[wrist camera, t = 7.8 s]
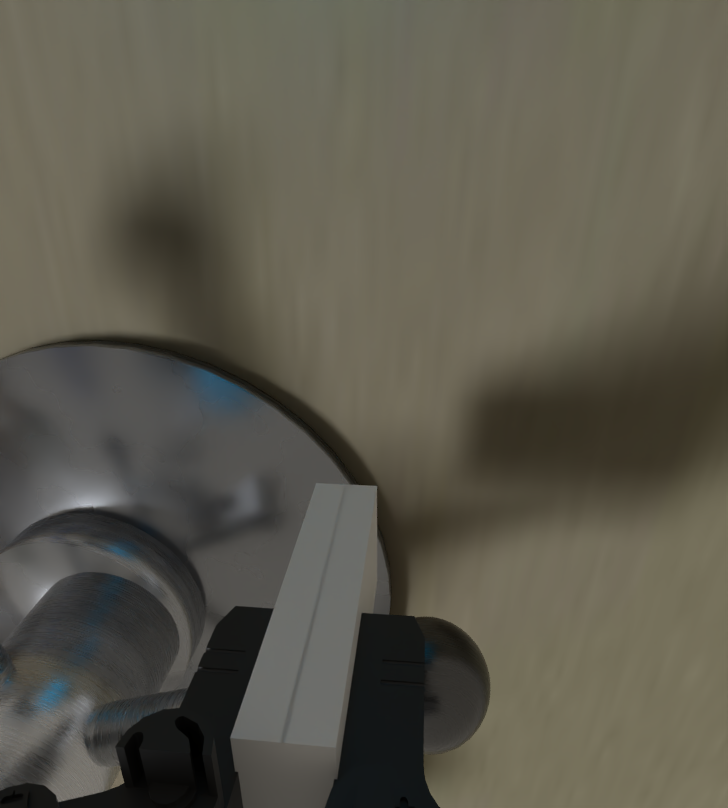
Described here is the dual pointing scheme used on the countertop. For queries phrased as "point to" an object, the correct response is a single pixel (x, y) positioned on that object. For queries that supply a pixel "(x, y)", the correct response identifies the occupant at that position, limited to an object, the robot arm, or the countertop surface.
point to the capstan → (138, 652)
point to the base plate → (165, 464)
